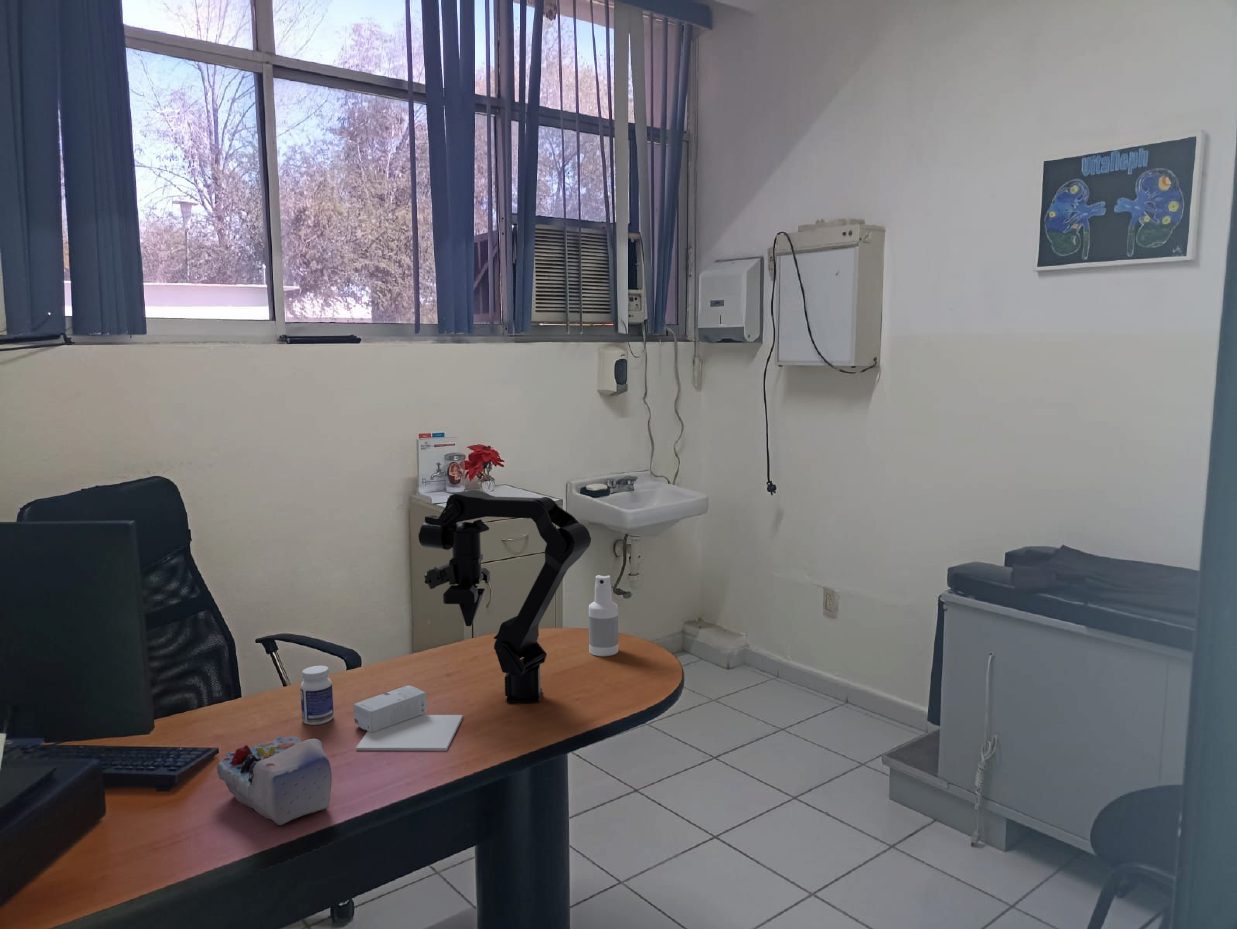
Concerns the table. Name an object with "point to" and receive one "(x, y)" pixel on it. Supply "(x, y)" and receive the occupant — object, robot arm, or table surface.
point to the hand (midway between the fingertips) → (468, 625)
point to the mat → (414, 734)
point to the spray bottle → (603, 620)
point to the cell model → (279, 777)
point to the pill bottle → (316, 696)
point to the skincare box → (390, 708)
